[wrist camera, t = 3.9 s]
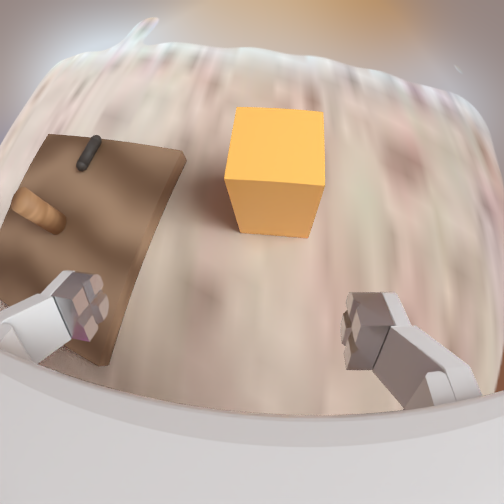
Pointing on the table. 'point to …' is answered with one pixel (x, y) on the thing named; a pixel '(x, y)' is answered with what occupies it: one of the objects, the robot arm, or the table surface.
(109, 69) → the table surface
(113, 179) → the walnut post board
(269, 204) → the upright amber block
